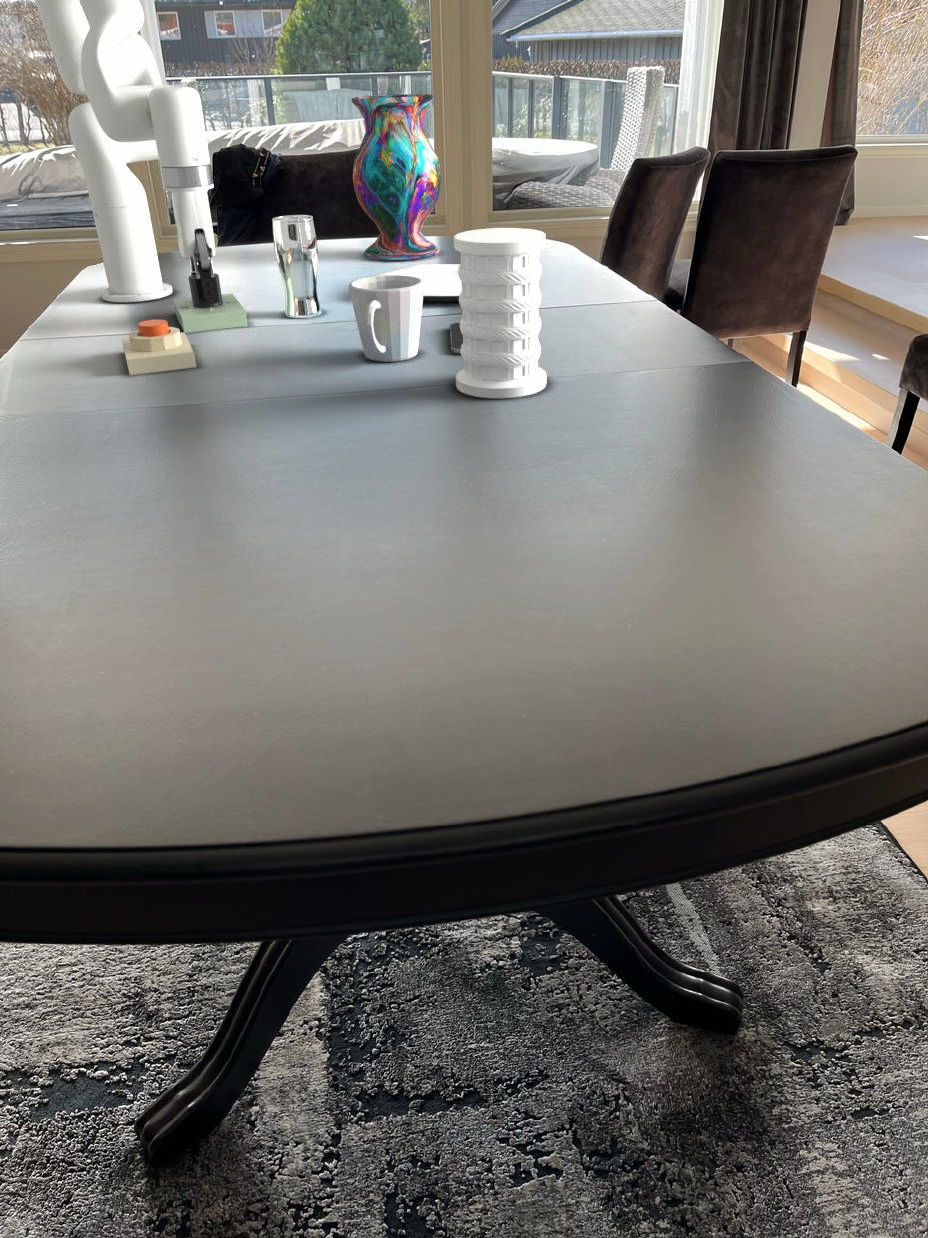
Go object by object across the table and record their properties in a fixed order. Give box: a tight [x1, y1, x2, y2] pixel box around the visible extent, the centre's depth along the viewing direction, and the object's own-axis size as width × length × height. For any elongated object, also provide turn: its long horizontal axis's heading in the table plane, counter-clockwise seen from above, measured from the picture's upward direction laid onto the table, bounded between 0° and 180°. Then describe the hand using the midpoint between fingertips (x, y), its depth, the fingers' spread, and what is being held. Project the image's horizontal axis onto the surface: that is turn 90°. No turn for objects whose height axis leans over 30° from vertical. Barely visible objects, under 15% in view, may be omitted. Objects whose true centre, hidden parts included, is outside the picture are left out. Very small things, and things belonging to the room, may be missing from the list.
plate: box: [374, 263, 462, 303], centre depth 171 cm, size 27×27×2 cm
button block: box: [121, 326, 197, 376], centre depth 135 cm, size 12×9×4 cm
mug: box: [348, 275, 424, 363], centre depth 130 cm, size 10×15×10 cm
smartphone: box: [449, 322, 463, 354], centre depth 140 cm, size 8×1×15 cm
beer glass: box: [271, 214, 323, 319], centre depth 154 cm, size 7×7×15 cm
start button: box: [137, 319, 169, 337], centre depth 133 cm, size 4×4×2 cm
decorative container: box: [453, 227, 547, 399], centre depth 116 cm, size 12×12×18 cm
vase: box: [350, 93, 442, 261], centre depth 196 cm, size 18×18×30 cm
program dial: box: [187, 272, 223, 308], centre depth 154 cm, size 5×5×5 cm
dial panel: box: [172, 293, 248, 334], centre depth 156 cm, size 14×10×3 cm
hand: (207, 298), depth 155 cm, fingers closed on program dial, 4 cm apart
